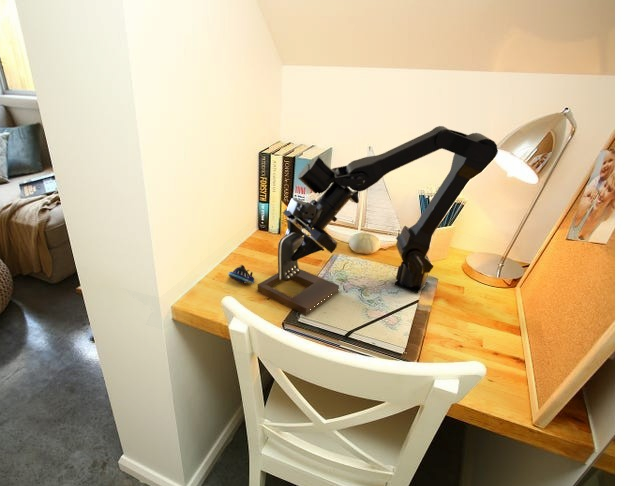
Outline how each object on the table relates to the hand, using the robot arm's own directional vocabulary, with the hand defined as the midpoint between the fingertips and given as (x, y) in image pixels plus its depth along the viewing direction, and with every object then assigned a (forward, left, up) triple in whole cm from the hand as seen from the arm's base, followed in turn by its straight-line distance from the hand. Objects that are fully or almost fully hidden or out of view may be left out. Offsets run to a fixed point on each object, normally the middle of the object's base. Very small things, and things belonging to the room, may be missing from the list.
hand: (286, 254), depth 99 cm
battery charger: (-1, -1, -7) cm, 7 cm away
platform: (-2, -2, -11) cm, 12 cm away
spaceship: (+13, +4, -11) cm, 17 cm away
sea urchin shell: (-2, -35, -11) cm, 37 cm away
